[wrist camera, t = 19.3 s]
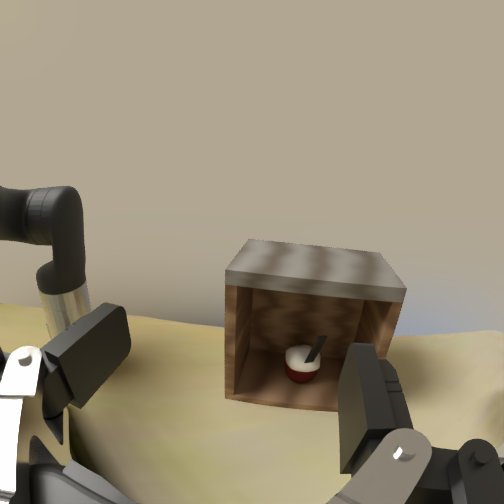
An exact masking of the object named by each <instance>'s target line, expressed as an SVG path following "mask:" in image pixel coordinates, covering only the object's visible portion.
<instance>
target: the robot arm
mask: <svg viewBox="0 0 504 504" xmlns="http://www.w3.org/2000/svg"><path fill="white" fill-rule="evenodd" d="M0 240H9V241H18V242H24V243H29V244H34V245H52V249H53V261H51V262H49V263H46V264H45V265H43V266H42V267H40V268H39V269H38V271H37V273H36V280H37V285H38V288H39V293H40V297H41V301H42V305H43V308H44V312H45V315H46V319H47V324H46V325H47V329H48V332H49V335H50V338H51V341H49V342H48V343H47V344H46V345H44V346H43V347H42V348H41V349H38V348H36V347H34V346H24V347H21V348H18V349H17V350H15V351H14V352H12V354H10V353H6V352H2V349H1V347H0V504H139V503H135V502H133V501H132V500H130V499H129V498H127V497H126V496H125V495H123V494H122V493H121V492H120V491H118V490H117V489H116V488H115V487H113V486H112V485H111V484H110V483H108V482H107V481H106V480H105V479H104V478H102V477H101V476H99V475H97V474H95V473H94V472H92V471H90V470H88V469H86V468H85V467H83V466H81V465H80V464H78V463H76V462H75V461H73V460H72V458H71V455H70V449H69V426H68V410H67V408H66V406H67V405H68V404H69V403H70V404H72V405H74V406H76V407H78V408H80V409H81V408H82V407H83V406H84V405H85V404H86V403H87V401H88V400H89V399H90V398H91V397H92V396H93V394H94V393H95V392H96V391H97V390H98V389H99V388H100V386H101V385H102V384H103V383H104V382H105V381H106V379H107V378H108V377H109V376H110V375H111V374H112V373H113V372H114V370H115V369H116V368H117V367H118V366H119V365H120V364H121V362H122V361H123V360H124V359H125V358H126V357H127V356H128V354H129V352H130V349H131V338H130V333H129V327H128V322H127V316H126V311H125V309H124V308H123V307H122V306H118V305H114V304H110V303H103V304H101V305H100V306H99V307H97V308H96V309H95V310H94V311H92V308H91V303H90V298H89V293H88V288H87V282H86V276H85V246H84V224H83V208H82V203H81V198H80V196H79V194H78V192H77V190H76V189H75V188H73V187H70V186H60V187H48V188H38V189H31V190H17V189H8V188H4V187H2V186H0ZM337 398H338V414H339V437H340V474H351V478H352V479H351V480H350V481H349V482H348V483H347V484H346V485H345V486H344V487H343V489H342V490H341V491H340V492H339V493H337V494H336V495H335V496H334V497H333V498H331V499H330V500H329V501H328V502H327V503H326V504H504V474H503V470H502V467H501V464H500V460H499V457H498V454H497V452H496V450H495V448H494V447H493V446H492V445H491V444H490V443H489V442H487V441H485V440H482V439H472V440H469V441H467V442H466V443H465V444H464V445H463V446H462V447H461V448H460V449H459V450H450V449H442V448H436V447H432V446H431V444H430V442H429V440H428V439H427V438H426V437H425V436H424V435H423V434H422V433H420V432H418V431H416V430H414V428H413V425H412V421H411V418H410V414H409V411H408V407H407V404H406V401H405V398H404V394H403V393H402V388H401V385H400V383H399V379H398V376H397V373H396V370H395V369H394V367H393V366H392V365H391V364H390V363H389V362H388V361H387V360H386V359H378V357H377V353H376V350H375V347H374V345H373V344H366V343H350V345H349V348H348V351H347V355H346V358H345V361H344V365H343V368H342V371H341V374H340V378H339V382H338V390H337Z"/></svg>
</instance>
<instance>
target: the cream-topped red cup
mask: <svg viewBox="0 0 504 504" xmlns="http://www.w3.org/2000/svg"><path fill="white" fill-rule="evenodd" d="M327 337H328V336H326V335H324V336H318V338H317V339H316V341H315V343H314V345H313V347H311V346H309V345H305V344H304V345H296V346H293V347H291V348H289V349H288V350H286V358H285V370H286V375H287V376H288V377H289V378H290V379H291V380H293V381H295V382H298V383H305V382H309V381H310V380H312V379H313V378H315V376H316V375H317V373H318V370H319V368H320V365H321V362H320V359H321V356H320V353H319V351H320V350H321V348H322V346H323V344H324V343H325V341H326V339H327Z"/></svg>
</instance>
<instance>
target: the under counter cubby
mask: <svg viewBox="0 0 504 504" xmlns="http://www.w3.org/2000/svg"><path fill="white" fill-rule="evenodd" d="M225 272H226V273H225V398H227V399H232V400H238V401H243V402H249V403H256V404H262V405H269V406H277V407H285V408H295V409H305V410H318V411H335V412H338V398H337V390H338V382H339V378H340V374H341V371H342V368H343V365H344V361H345V358H346V355H347V351H348V348H349V345H350V343H366V344H373V345H374V347H375V350H376V353H377V357H378V359H385V357H386V354H387V351H388V348H389V345H390V343H391V340H392V337H393V334H394V330H395V327H396V324H397V321H398V318H399V315H400V311H401V308H402V304H403V300H404V297H405V293H406V290H407V288H406V287H405V285H404V284H403V282H402V281H401V280H400V278H399V277H398V276H397V274H396V273H395V272H394V270H393V269H392V268H391V267H390V265H389V264H388V263H387V261H386V260H385V259H384V258H383V256H382V255H381V254H380V253H377V252H367V251H358V250H350V249H341V248H332V247H322V246H313V245H303V244H293V243H284V242H274V241H264V240H254V239H249V240H248V241H247V242H246V243H245V245H244V246H243V247H242V249H241V250H240V251H239V252H238V254H237V255H236V256H235V258H234V259H233V260H232V262H231V263H230V264H229V266H228V267H227V268H226V270H225ZM324 335H326V336H328V337H327V339H326V341H325V343H324V344H323V346H322V348H321V350H320V351H319V353H320V356H321V359H320V362H321V365H320V368H319V370H318V373H317V375H316V376H315V378H313V379H312V380H310V381H309V382H305V383H298V382H295V381H293V380H291V379H290V378H289V377H288V376H287V375H286V370H285V358H286V350H288V349H289V348H291V347H293V346H296V345H304V344H305V345H309V346H311V347H313V345H314V343H315V341H316V339H317V338H318V336H324Z"/></svg>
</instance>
